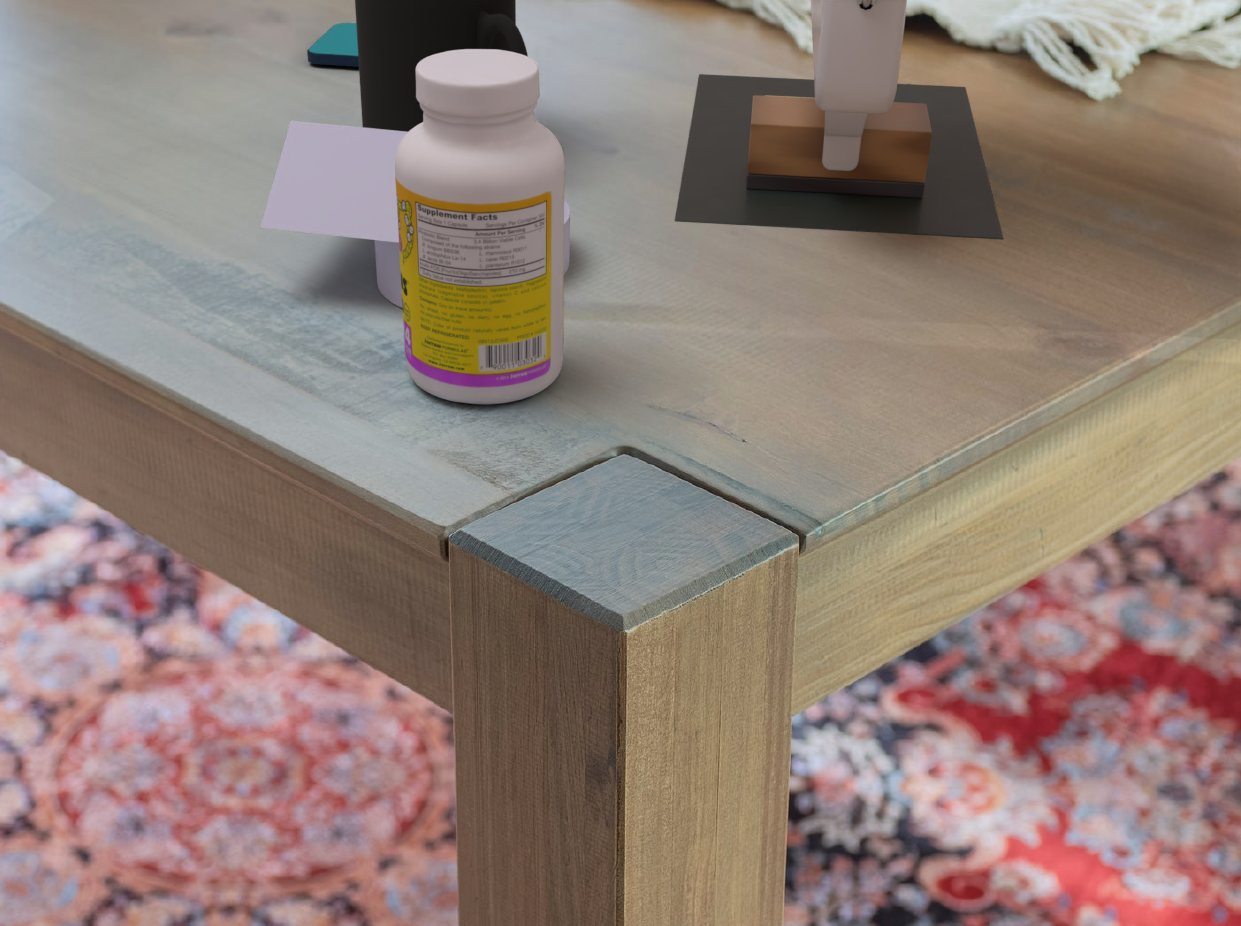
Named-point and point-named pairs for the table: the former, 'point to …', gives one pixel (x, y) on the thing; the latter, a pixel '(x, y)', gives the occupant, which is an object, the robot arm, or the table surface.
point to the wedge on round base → (347, 192)
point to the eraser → (795, 139)
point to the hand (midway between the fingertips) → (837, 145)
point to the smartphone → (336, 46)
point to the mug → (420, 48)
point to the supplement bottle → (481, 231)
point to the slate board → (721, 196)
